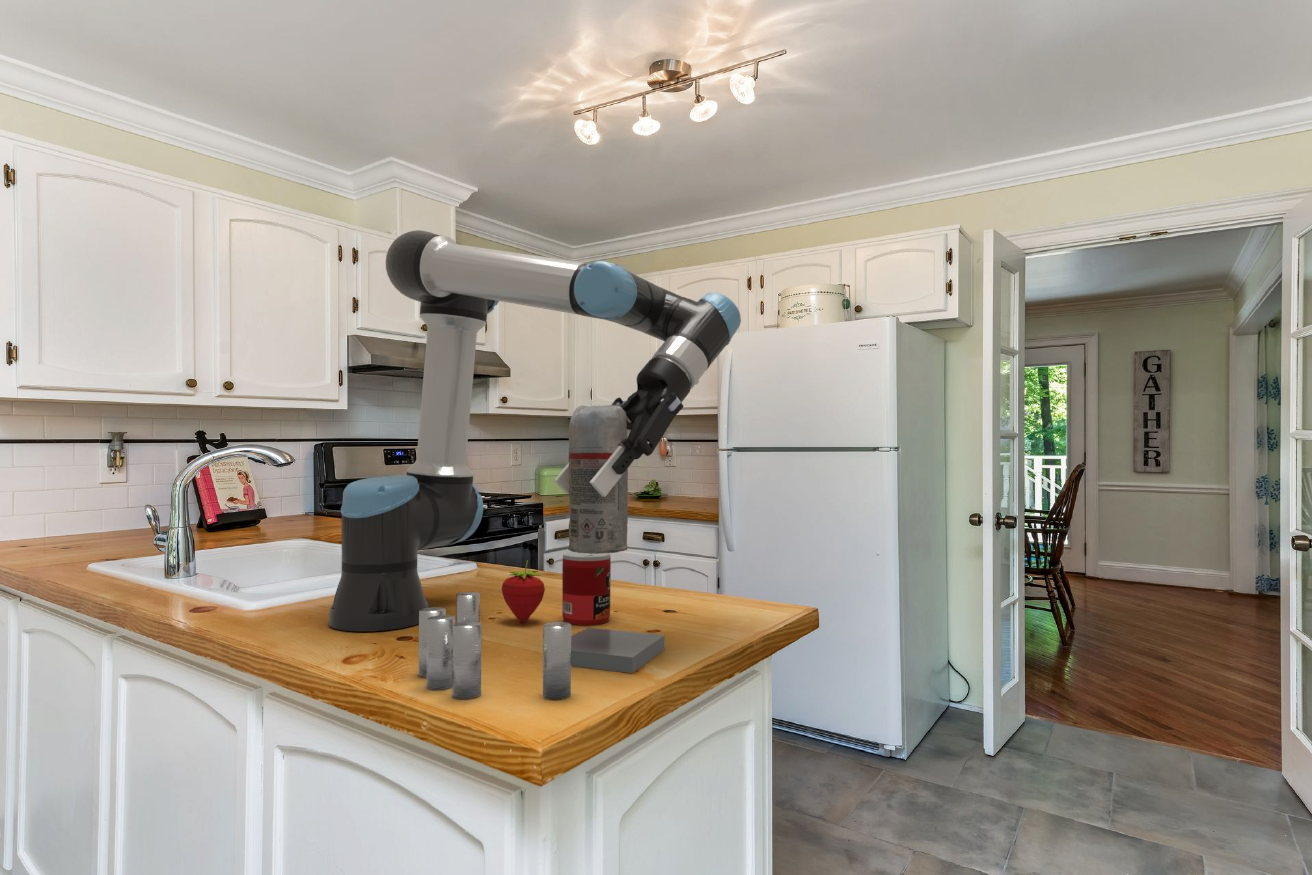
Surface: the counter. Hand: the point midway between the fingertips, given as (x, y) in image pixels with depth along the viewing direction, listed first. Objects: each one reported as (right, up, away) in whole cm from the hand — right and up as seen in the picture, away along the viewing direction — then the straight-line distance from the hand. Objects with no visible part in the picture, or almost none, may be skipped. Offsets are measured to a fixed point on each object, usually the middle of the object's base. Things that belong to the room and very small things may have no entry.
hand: (578, 488), depth 99 cm
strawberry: (-11, -24, +22) cm, 34 cm away
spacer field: (-9, -23, -6) cm, 26 cm away
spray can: (+3, -9, +2) cm, 9 cm away
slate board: (+4, -23, +3) cm, 24 cm away
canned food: (-1, -24, +24) cm, 34 cm away
